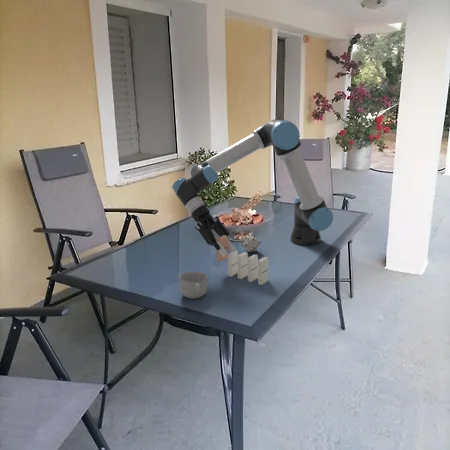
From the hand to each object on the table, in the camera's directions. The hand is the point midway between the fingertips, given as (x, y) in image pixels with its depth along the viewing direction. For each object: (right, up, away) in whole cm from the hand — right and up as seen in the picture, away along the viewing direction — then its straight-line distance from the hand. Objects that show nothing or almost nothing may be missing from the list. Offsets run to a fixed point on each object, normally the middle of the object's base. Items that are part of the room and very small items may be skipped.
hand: (229, 253), depth 182 cm
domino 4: (+10, -10, -4) cm, 15 cm away
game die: (+11, -1, +27) cm, 29 cm away
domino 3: (+6, -10, -1) cm, 11 cm away
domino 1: (-3, -3, +3) cm, 5 cm away
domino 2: (+2, -9, +2) cm, 10 cm away
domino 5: (+14, -11, -7) cm, 19 cm away
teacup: (-13, -16, -17) cm, 27 cm away
